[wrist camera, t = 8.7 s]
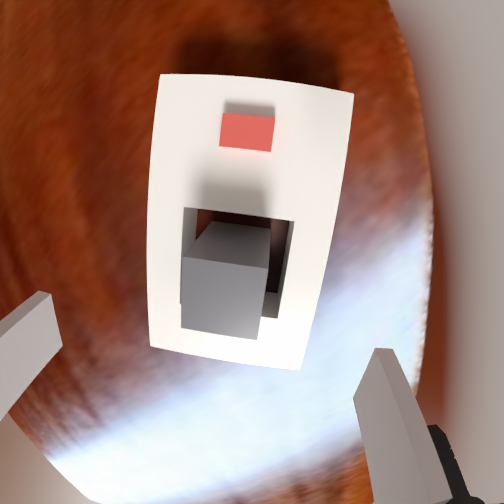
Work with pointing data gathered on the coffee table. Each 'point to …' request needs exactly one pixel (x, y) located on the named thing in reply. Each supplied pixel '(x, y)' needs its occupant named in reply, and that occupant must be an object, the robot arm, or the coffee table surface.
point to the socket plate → (244, 198)
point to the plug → (225, 280)
